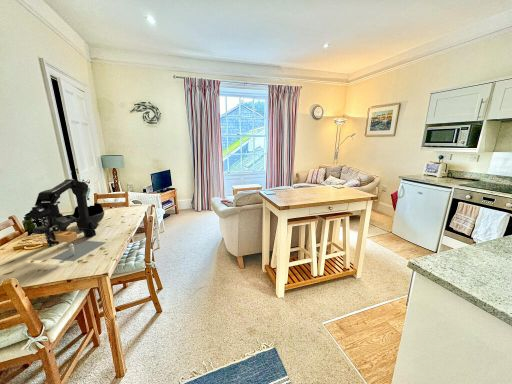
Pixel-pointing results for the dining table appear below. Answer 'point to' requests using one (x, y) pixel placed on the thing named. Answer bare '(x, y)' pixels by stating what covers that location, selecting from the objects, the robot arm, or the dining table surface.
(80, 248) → the keeper board
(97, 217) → the coal bowl
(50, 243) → the spotted tube
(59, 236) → the orange rectangular block
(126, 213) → the dining table surface
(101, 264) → the dining table surface
